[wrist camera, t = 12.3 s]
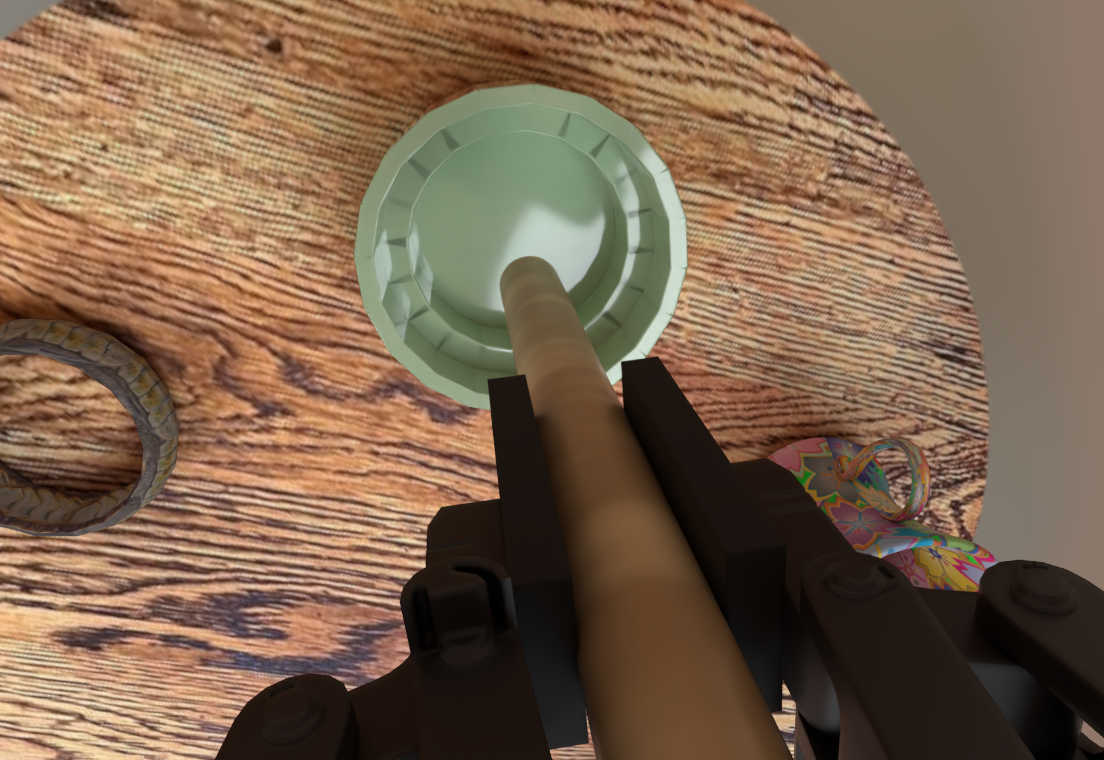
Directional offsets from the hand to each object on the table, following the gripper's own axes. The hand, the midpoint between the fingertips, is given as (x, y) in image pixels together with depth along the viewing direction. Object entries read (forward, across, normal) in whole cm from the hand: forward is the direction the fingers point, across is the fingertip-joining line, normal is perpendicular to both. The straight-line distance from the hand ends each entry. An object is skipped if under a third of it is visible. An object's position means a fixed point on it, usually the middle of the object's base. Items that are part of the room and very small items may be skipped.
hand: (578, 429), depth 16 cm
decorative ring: (+21, -21, -6) cm, 30 cm away
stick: (+11, 0, 0) cm, 11 cm away
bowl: (+20, 0, 0) cm, 20 cm away
